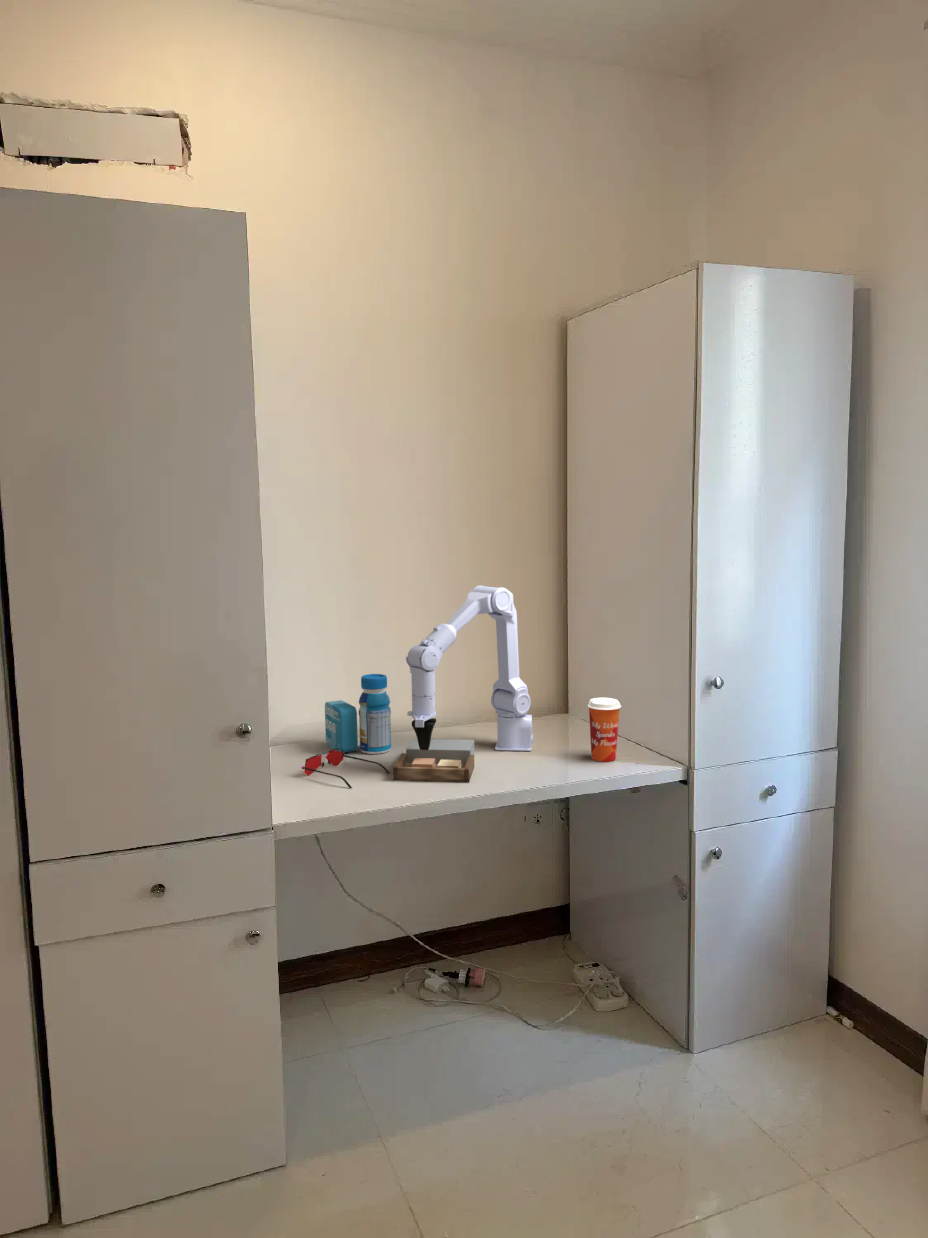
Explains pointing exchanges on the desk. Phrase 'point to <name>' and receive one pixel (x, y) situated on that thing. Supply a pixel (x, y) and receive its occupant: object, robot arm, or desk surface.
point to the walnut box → (432, 771)
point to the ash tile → (449, 764)
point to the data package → (341, 726)
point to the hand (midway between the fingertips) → (424, 749)
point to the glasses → (332, 758)
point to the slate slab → (442, 750)
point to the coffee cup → (603, 728)
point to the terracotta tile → (424, 762)
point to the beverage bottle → (374, 715)
